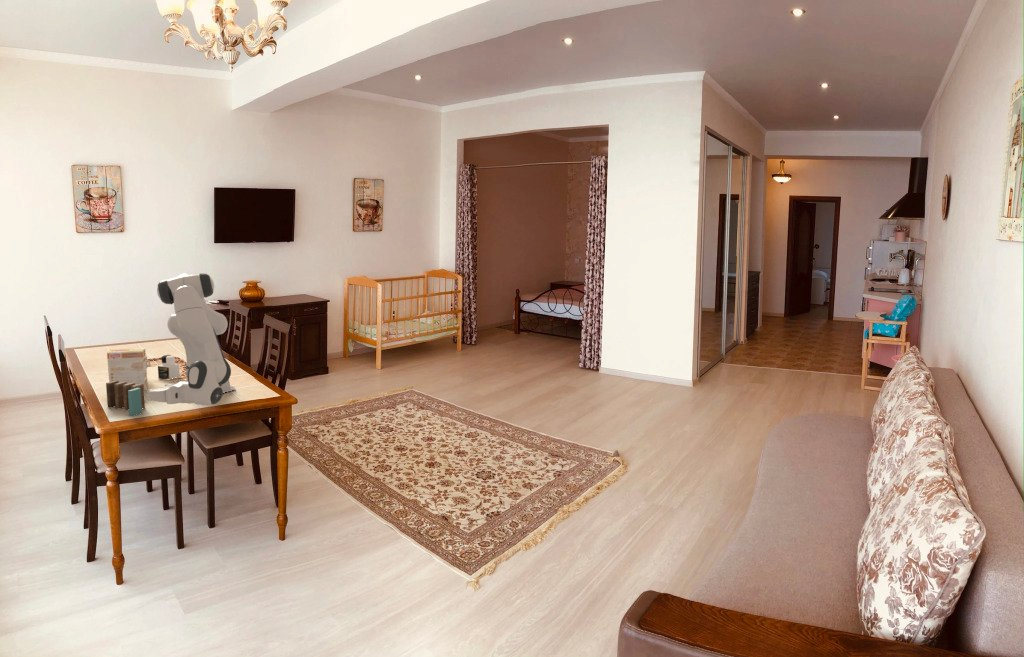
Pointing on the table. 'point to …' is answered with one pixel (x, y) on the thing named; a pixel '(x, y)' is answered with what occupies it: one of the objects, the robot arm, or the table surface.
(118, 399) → the walnut domino
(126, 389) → the walnut domino
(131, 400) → the teal domino
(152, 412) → the table surface
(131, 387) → the walnut domino
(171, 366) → the medicine bottle
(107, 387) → the end domino
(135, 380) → the coffeecake box
